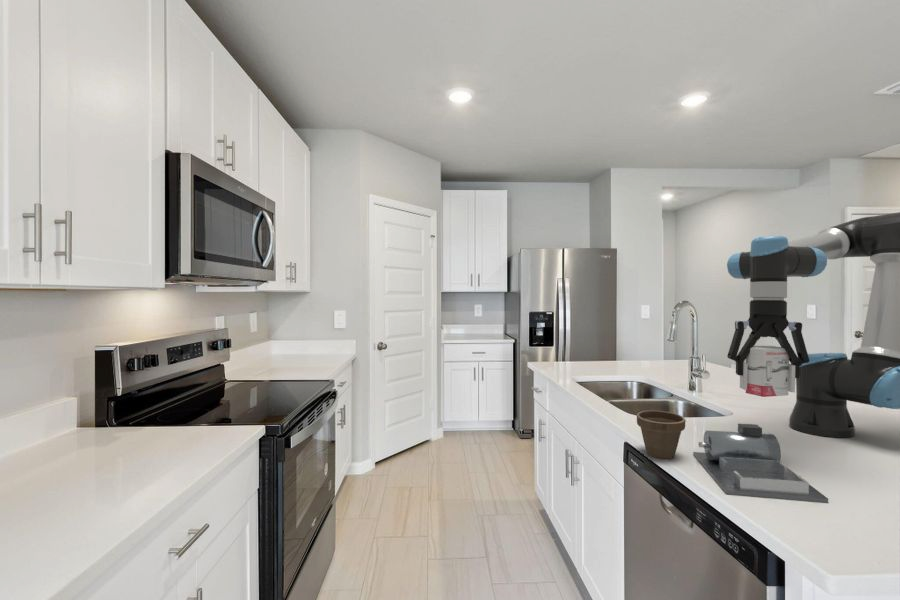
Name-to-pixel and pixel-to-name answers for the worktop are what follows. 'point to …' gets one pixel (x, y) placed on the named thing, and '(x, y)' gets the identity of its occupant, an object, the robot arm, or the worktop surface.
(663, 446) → the flower pot
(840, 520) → the worktop surface
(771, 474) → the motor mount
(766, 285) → the robot arm
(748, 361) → the ink box
